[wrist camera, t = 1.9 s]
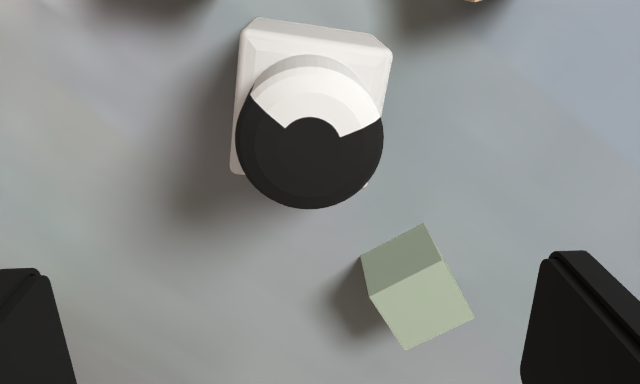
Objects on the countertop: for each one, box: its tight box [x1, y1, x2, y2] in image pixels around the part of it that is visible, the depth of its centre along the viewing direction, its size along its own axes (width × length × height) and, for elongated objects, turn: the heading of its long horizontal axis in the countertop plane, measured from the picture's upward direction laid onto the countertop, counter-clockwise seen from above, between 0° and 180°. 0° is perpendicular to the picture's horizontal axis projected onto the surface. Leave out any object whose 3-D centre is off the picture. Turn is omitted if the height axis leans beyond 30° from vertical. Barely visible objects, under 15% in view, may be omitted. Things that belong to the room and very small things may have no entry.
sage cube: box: [360, 223, 475, 351], centre depth 34 cm, size 5×5×5 cm
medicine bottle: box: [229, 17, 393, 209], centre depth 25 cm, size 7×7×12 cm
